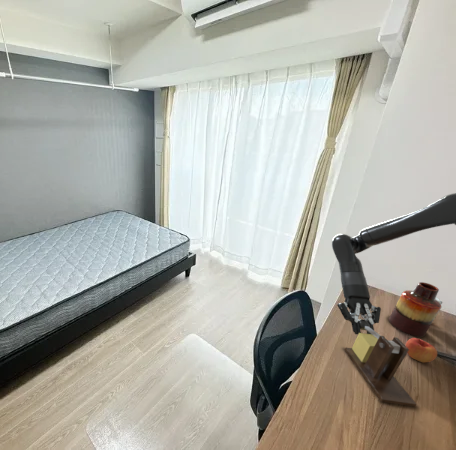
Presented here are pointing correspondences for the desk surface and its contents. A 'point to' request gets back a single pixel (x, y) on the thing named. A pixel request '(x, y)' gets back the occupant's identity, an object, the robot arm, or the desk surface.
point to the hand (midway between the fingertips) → (364, 334)
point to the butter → (364, 346)
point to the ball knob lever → (376, 334)
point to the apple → (421, 350)
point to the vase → (416, 310)
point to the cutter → (384, 371)
